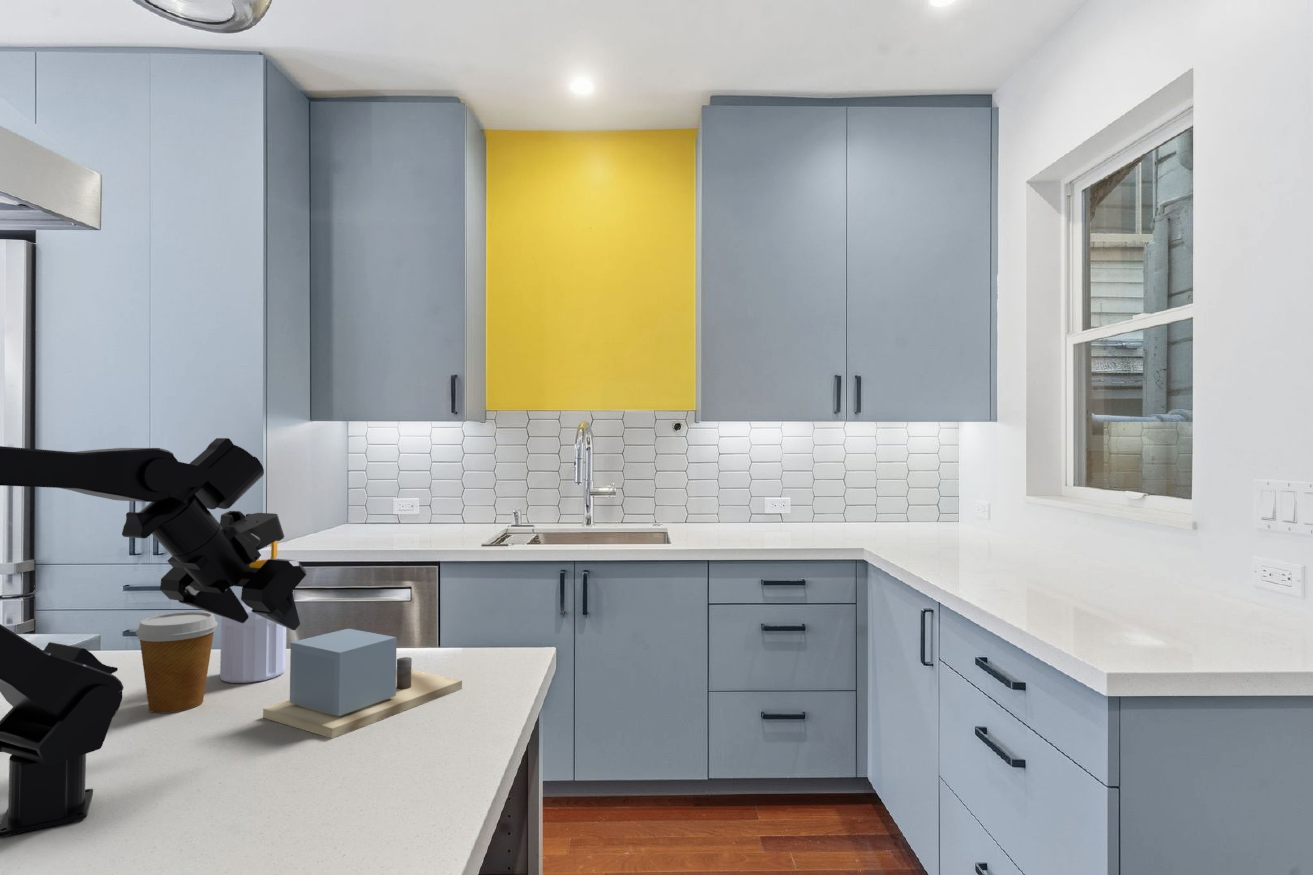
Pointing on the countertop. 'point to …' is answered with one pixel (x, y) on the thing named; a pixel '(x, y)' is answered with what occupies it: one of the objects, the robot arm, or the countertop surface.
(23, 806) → the robot arm
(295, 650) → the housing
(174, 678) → the disposable coffee cup
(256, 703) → the countertop surface
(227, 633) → the soap bottle
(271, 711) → the flat panel
